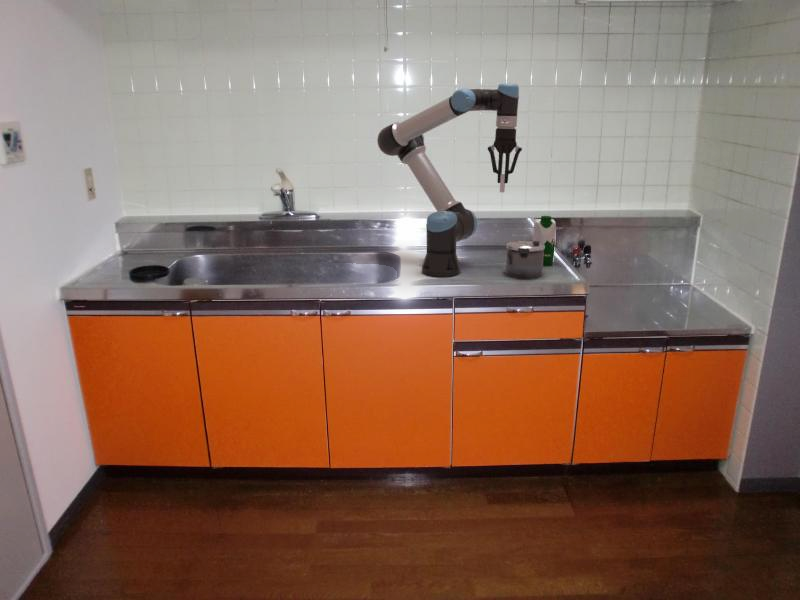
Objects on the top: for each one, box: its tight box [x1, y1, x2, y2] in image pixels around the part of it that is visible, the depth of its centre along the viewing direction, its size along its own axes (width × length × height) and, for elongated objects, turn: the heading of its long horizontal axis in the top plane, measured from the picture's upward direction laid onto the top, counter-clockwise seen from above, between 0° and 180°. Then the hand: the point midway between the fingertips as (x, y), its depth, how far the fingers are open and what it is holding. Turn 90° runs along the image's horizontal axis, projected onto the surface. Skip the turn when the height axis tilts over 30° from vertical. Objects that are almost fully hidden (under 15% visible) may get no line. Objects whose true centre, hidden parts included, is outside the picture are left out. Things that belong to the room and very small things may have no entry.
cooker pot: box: [505, 248, 544, 280], centre depth 240 cm, size 14×15×10 cm
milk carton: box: [532, 215, 557, 266], centre depth 253 cm, size 9×9×20 cm
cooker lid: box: [505, 240, 545, 252], centre depth 236 cm, size 15×16×3 cm
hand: (502, 191), depth 235 cm, fingers closed
